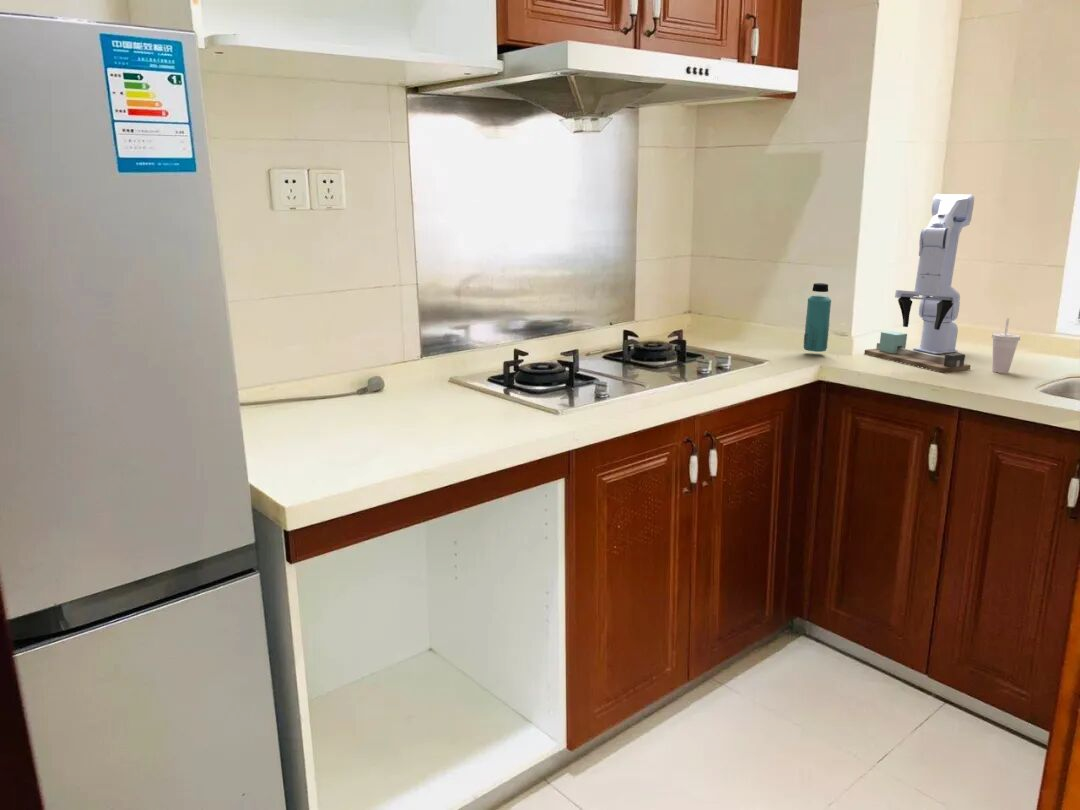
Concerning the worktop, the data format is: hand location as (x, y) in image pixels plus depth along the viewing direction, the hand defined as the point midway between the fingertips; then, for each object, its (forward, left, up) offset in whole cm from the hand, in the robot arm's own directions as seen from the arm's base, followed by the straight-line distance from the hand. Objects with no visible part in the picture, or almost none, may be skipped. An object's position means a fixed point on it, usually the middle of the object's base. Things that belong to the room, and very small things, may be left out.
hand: (920, 328), depth 213 cm
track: (-7, -6, -11) cm, 14 cm away
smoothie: (-17, +12, -11) cm, 23 cm away
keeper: (-7, -14, -9) cm, 18 cm away
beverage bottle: (+12, -24, -11) cm, 29 cm away
